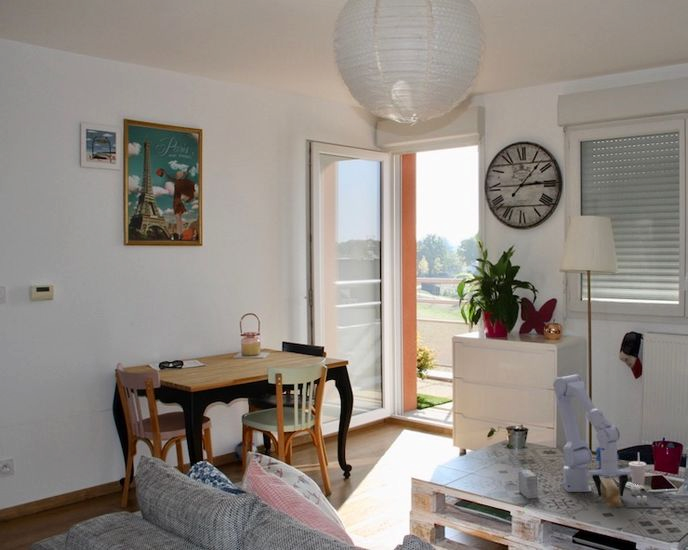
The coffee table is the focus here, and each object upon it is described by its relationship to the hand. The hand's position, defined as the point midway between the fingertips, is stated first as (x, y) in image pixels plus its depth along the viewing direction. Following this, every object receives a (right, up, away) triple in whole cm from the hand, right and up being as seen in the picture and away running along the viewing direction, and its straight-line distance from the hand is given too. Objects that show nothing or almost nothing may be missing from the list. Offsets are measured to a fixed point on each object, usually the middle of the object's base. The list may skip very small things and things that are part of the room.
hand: (610, 495), depth 272 cm
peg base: (+10, -1, -1) cm, 10 cm away
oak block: (0, -2, 0) cm, 2 cm away
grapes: (+12, 0, +36) cm, 38 cm away
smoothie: (+15, -1, +11) cm, 19 cm away
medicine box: (-28, -3, +10) cm, 30 cm away
